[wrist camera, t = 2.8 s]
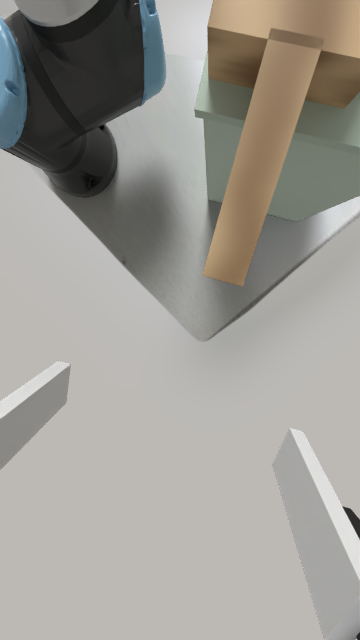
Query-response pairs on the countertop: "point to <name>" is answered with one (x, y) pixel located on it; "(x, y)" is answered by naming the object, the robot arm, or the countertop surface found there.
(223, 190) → the sage green shelf box
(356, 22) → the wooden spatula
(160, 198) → the countertop surface
